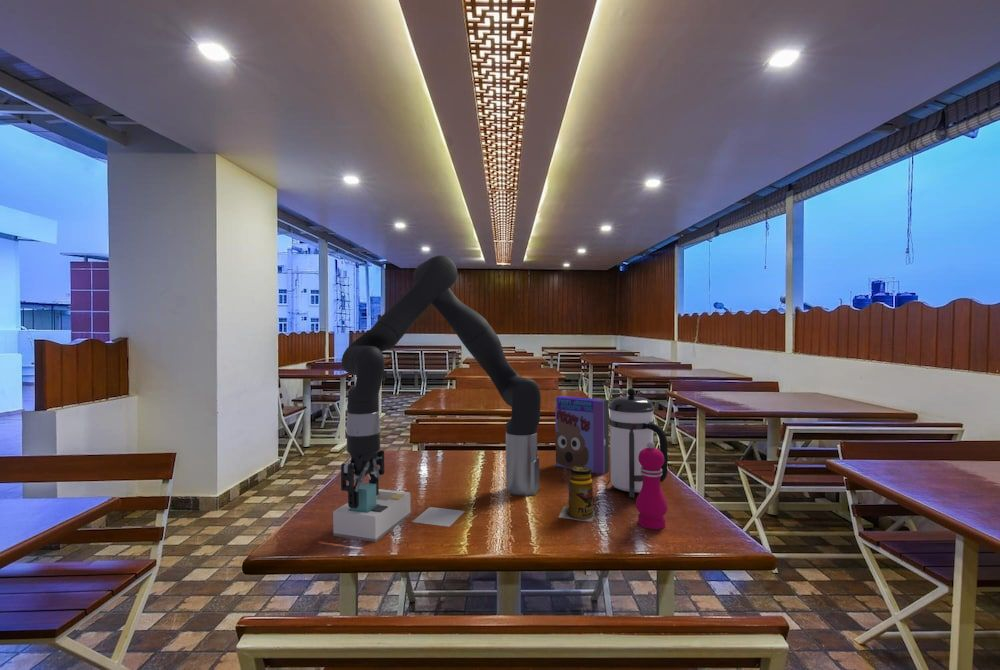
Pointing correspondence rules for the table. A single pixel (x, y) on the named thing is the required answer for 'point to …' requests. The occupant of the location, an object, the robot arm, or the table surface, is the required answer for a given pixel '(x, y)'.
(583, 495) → the condiment
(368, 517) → the socket box
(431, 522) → the mat
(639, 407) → the coffee press
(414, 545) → the table surface
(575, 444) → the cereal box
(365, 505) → the plug
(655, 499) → the pepper mill
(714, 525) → the table surface
